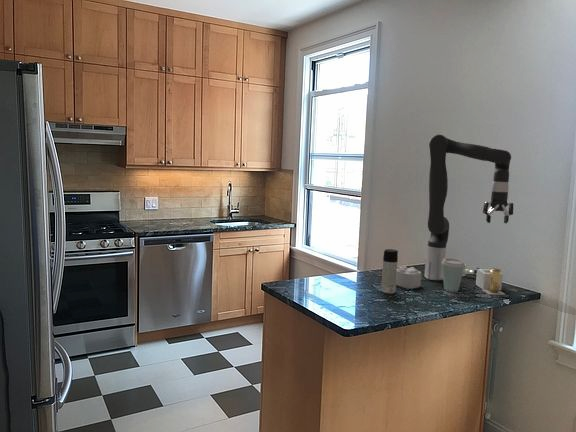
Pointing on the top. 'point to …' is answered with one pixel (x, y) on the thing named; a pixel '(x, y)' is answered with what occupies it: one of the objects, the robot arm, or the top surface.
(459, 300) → the top surface
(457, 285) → the disposable coffee cup
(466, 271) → the valve
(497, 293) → the mat
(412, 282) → the lumpy-topped squat cylinder
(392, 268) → the spray can
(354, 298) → the top surface
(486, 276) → the box
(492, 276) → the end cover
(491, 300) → the top surface
